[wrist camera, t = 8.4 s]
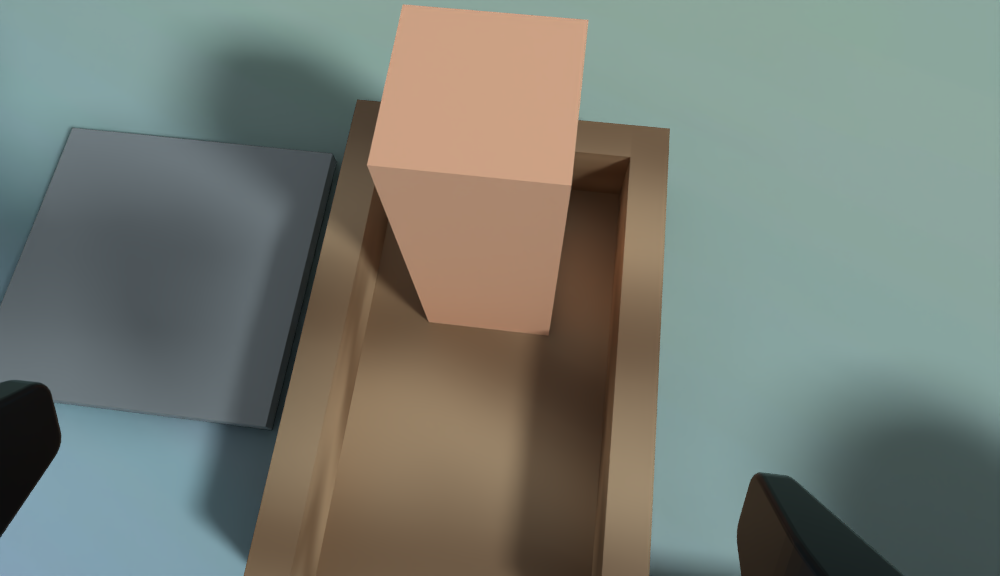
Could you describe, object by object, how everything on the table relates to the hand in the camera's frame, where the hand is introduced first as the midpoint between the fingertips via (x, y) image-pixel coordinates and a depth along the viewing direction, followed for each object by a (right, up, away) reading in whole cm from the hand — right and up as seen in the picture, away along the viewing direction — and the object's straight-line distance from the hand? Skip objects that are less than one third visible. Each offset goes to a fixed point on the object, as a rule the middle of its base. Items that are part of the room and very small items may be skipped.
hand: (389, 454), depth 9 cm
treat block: (+1, +3, +15) cm, 15 cm away
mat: (-10, +3, +15) cm, 19 cm away
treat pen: (+6, -2, +13) cm, 15 cm away
